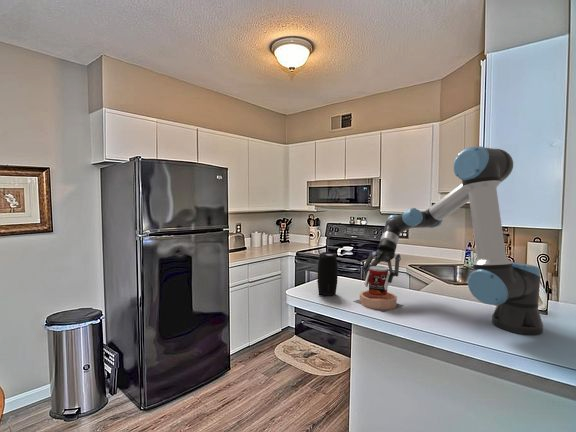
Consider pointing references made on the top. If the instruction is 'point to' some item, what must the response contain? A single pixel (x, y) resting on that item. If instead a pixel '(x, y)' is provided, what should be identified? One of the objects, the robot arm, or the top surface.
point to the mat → (382, 309)
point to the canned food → (377, 280)
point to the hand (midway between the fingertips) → (375, 286)
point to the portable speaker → (327, 274)
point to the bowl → (378, 300)
